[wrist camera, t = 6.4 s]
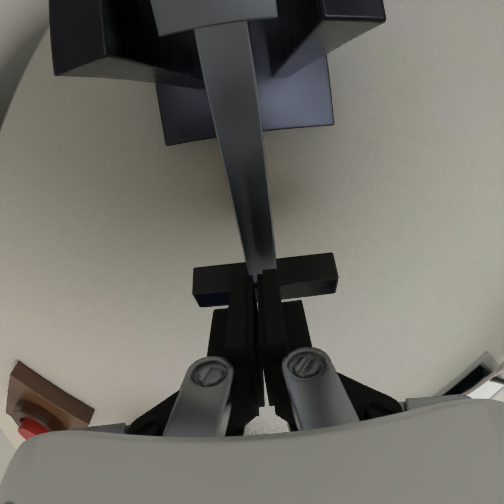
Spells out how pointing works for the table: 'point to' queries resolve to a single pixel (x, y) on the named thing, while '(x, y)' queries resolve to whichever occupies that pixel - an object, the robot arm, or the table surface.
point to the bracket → (188, 64)
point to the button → (30, 429)
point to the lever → (240, 145)
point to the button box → (43, 402)
